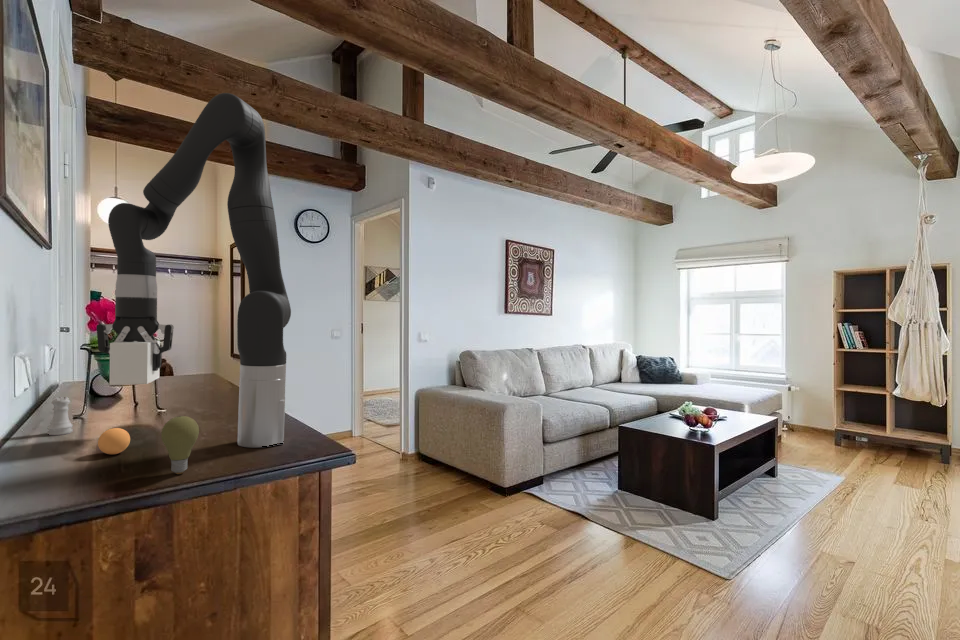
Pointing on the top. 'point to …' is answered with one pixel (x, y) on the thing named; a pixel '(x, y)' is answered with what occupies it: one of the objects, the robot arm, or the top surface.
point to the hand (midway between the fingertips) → (135, 370)
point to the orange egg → (114, 441)
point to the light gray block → (132, 363)
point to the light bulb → (179, 441)
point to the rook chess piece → (60, 417)
